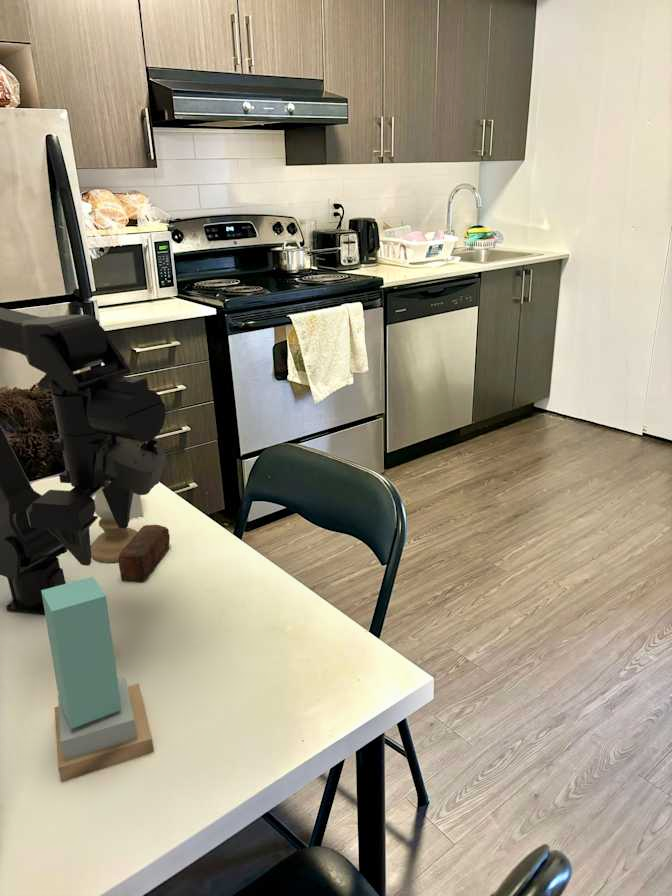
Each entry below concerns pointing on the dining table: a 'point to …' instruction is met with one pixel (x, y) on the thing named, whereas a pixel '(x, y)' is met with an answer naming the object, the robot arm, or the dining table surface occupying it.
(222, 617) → the dining table surface
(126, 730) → the tower middle block
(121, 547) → the candle holder
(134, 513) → the tea bag
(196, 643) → the dining table surface
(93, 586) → the tall teal block
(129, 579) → the brick
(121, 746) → the tower base block
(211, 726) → the dining table surface
